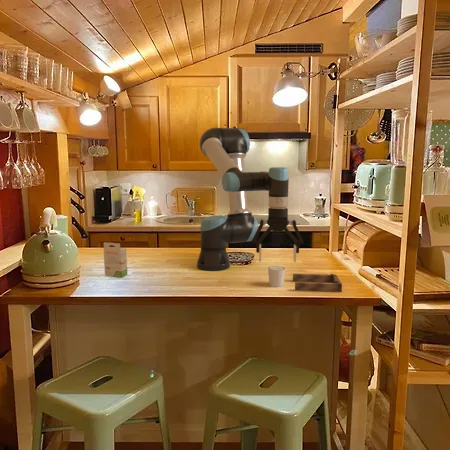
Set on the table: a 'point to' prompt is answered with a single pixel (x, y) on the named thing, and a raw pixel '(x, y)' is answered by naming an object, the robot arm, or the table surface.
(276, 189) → the robot arm
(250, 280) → the table surface
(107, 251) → the ink box
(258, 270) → the table surface
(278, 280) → the white cup
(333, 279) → the tray
